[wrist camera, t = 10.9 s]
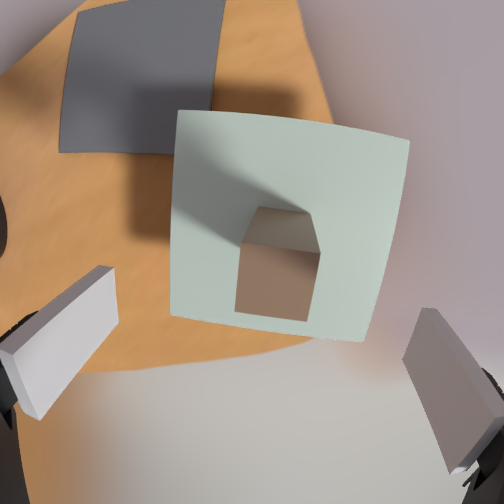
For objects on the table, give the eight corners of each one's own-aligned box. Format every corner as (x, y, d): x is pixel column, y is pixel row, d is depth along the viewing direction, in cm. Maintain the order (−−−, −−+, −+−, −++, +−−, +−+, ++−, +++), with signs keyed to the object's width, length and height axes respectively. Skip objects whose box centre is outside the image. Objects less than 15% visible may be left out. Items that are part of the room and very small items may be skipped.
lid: (173, 310, 29) (130, 376, 20) (181, 110, 23) (121, 97, 14) (361, 337, 28) (382, 412, 19) (406, 140, 22) (468, 143, 13)
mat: (63, 152, 35) (58, 152, 34) (82, 14, 28) (78, 12, 27) (206, 156, 33) (203, 156, 32) (226, -6, 27) (224, -9, 26)
